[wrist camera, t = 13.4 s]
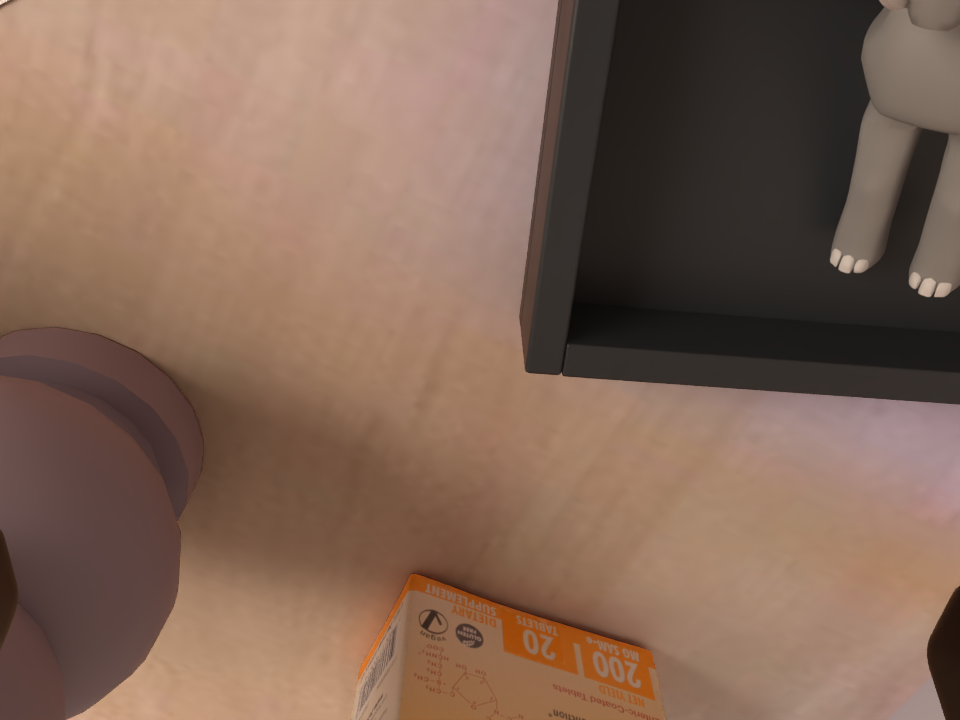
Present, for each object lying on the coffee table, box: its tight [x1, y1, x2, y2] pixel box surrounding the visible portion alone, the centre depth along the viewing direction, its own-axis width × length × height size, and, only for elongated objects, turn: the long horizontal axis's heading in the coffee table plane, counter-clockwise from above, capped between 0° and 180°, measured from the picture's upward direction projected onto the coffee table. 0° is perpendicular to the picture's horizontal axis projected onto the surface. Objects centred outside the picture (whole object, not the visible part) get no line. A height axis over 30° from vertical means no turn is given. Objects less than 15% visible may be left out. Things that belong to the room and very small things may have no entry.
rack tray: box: [519, 0, 960, 404], centre depth 16 cm, size 14×15×3 cm
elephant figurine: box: [830, 0, 960, 297], centre depth 14 cm, size 10×6×9 cm
